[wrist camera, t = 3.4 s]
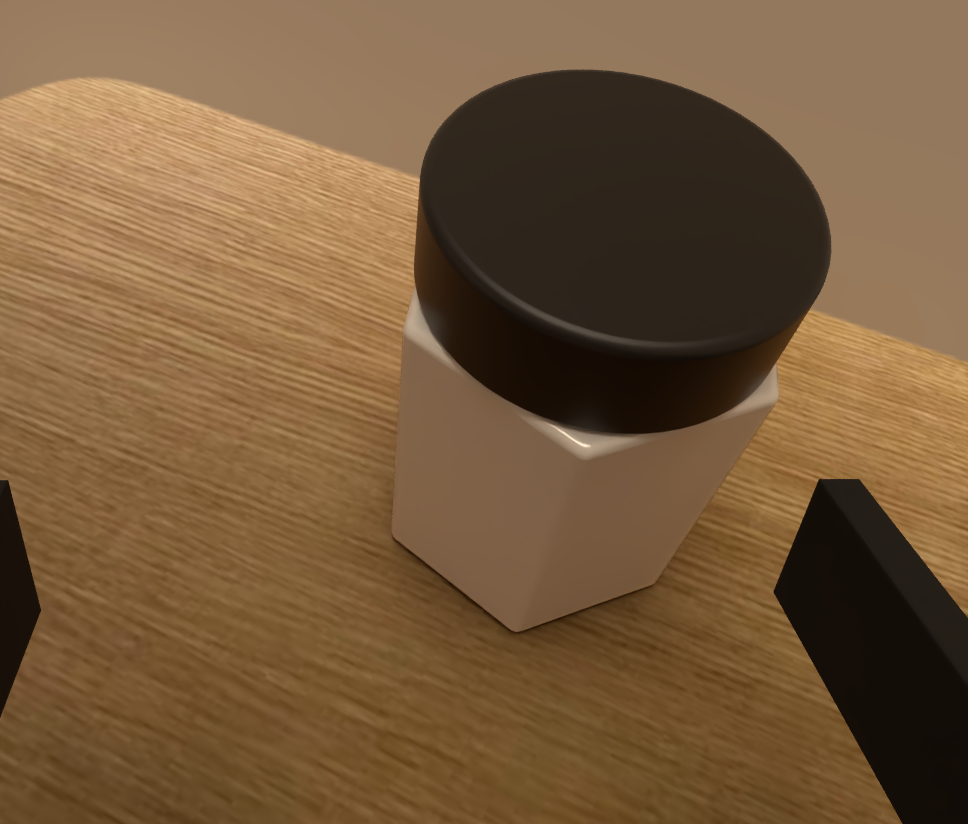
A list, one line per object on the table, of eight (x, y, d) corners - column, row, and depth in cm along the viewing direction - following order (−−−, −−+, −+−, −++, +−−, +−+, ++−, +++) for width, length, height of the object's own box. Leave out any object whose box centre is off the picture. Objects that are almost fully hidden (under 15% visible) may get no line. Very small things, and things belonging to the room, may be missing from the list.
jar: (720, 493, 27) (919, 200, 18) (576, 692, 23) (733, 452, 13) (497, 342, 30) (562, 12, 20) (331, 496, 26) (312, 175, 16)
